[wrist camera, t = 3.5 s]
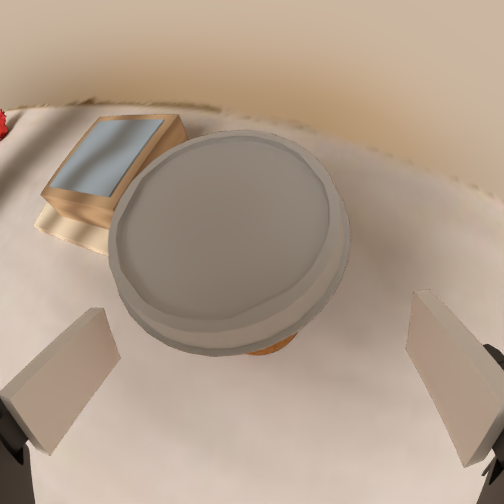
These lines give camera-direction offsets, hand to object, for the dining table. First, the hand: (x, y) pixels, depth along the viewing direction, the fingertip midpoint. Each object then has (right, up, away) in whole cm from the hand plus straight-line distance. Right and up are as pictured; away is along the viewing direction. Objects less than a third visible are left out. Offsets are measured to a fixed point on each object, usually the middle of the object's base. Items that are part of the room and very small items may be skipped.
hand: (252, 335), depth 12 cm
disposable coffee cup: (0, -1, +9) cm, 9 cm away
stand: (-13, +9, +17) cm, 23 cm away
